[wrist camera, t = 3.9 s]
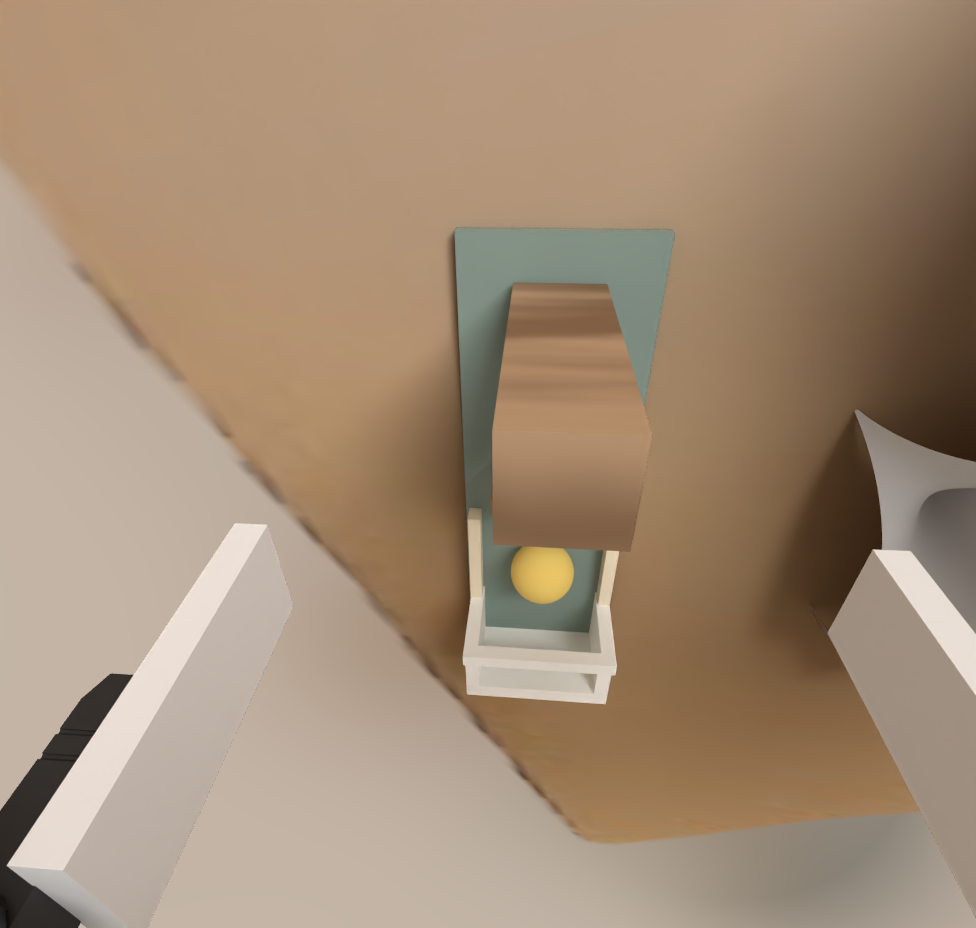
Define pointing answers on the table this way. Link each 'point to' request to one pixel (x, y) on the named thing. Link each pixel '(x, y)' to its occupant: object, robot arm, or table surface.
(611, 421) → the tan l-shaped block
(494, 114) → the table surface
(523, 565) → the ball
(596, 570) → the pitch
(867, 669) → the robot arm
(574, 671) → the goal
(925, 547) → the sculpture
